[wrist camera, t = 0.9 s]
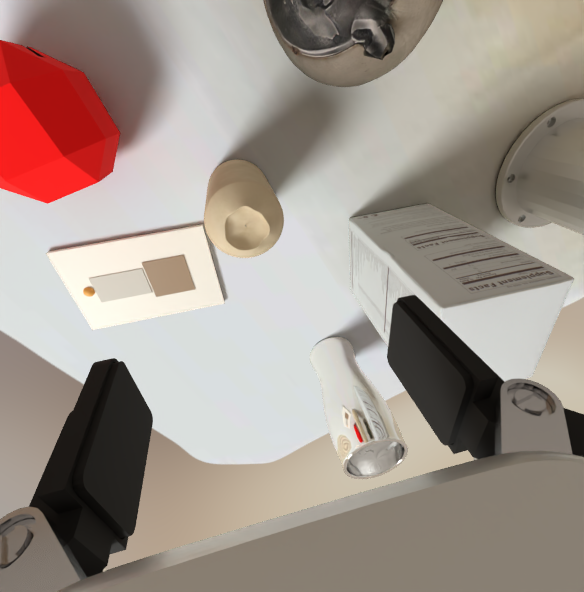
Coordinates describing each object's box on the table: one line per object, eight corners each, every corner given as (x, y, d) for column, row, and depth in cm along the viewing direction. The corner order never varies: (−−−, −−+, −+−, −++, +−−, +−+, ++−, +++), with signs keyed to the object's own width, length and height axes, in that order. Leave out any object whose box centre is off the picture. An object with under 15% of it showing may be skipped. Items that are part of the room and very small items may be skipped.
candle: (208, 154, 27) (203, 182, 19) (271, 162, 28) (293, 191, 20) (207, 217, 30) (202, 265, 22) (265, 221, 31) (281, 268, 23)
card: (202, 224, 30) (202, 227, 29) (224, 301, 35) (224, 306, 34) (48, 251, 29) (43, 256, 28) (94, 327, 34) (91, 332, 33)
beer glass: (360, 360, 44) (414, 463, 32) (314, 378, 45) (350, 488, 32) (348, 326, 41) (404, 428, 28) (298, 346, 41) (332, 456, 28)
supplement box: (421, 277, 39) (534, 381, 25) (348, 292, 38) (424, 409, 24) (430, 199, 33) (582, 276, 19) (347, 215, 32) (442, 308, 18)
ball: (73, 38, 22) (13, 17, 15) (142, 156, 26) (118, 177, 20) (-32, 84, 22) (-134, 81, 16) (55, 193, 26) (3, 225, 20)
